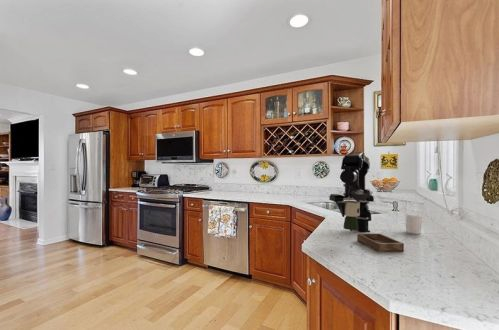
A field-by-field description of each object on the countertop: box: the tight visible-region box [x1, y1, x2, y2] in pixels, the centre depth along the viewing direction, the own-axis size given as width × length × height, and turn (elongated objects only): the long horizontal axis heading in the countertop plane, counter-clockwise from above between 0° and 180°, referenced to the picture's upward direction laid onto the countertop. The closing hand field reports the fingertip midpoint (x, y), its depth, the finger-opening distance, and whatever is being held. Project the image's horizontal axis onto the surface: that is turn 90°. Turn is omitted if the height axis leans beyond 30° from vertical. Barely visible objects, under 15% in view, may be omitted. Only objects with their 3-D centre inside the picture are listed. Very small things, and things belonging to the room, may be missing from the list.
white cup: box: [404, 212, 423, 235], centre depth 137 cm, size 8×8×10 cm
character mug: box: [343, 200, 360, 232], centre depth 111 cm, size 11×7×13 cm, turn 161°
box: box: [356, 232, 405, 253], centre depth 111 cm, size 12×16×4 cm
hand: (351, 216), depth 111 cm, fingers closed on character mug, 7 cm apart
